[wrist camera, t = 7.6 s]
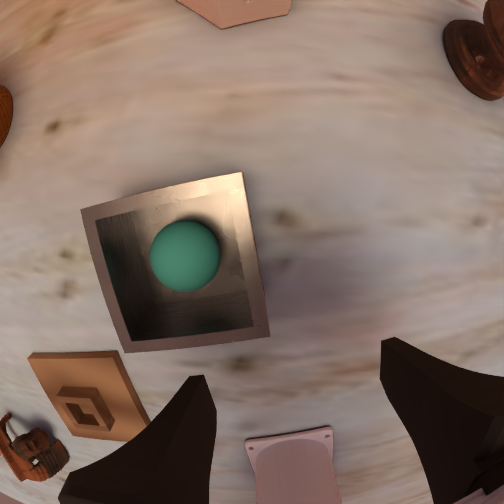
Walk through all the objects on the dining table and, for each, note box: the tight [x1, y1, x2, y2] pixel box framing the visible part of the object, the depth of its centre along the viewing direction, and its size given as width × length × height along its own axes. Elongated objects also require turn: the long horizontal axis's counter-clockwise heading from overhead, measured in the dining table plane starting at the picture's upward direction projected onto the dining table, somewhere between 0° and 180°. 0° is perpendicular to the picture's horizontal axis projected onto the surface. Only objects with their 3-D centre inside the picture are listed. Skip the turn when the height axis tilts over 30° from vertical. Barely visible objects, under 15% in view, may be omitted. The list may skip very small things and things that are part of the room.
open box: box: [80, 172, 270, 353], centre depth 17 cm, size 8×8×6 cm
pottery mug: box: [0, 414, 69, 482], centre depth 23 cm, size 12×9×8 cm
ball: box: [150, 220, 221, 292], centre depth 17 cm, size 4×4×4 cm
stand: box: [27, 351, 151, 442], centre depth 22 cm, size 10×10×2 cm
